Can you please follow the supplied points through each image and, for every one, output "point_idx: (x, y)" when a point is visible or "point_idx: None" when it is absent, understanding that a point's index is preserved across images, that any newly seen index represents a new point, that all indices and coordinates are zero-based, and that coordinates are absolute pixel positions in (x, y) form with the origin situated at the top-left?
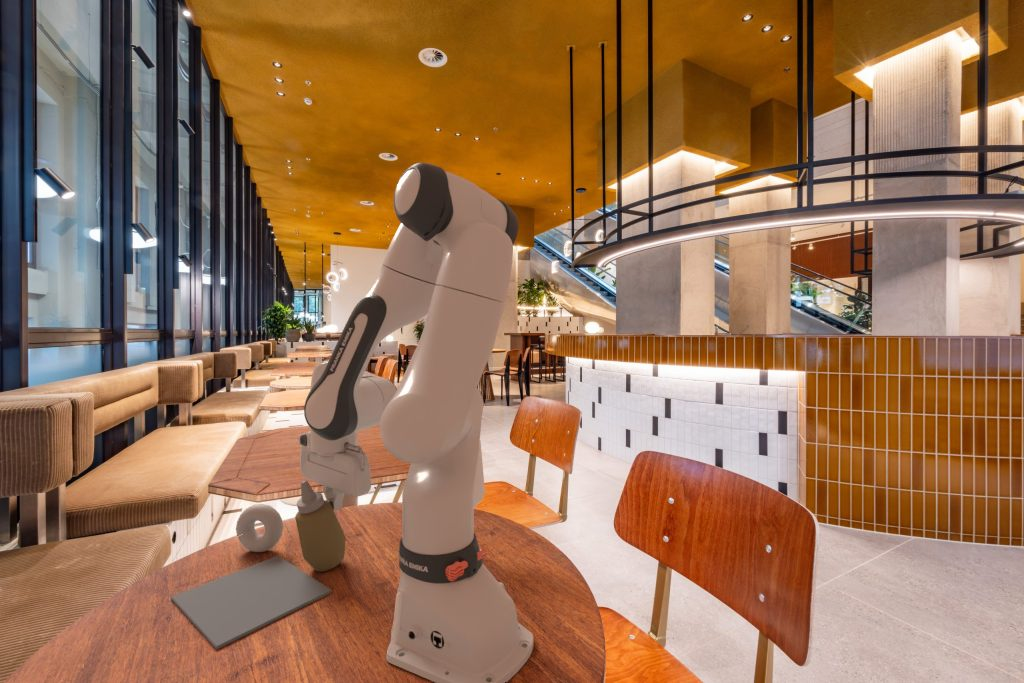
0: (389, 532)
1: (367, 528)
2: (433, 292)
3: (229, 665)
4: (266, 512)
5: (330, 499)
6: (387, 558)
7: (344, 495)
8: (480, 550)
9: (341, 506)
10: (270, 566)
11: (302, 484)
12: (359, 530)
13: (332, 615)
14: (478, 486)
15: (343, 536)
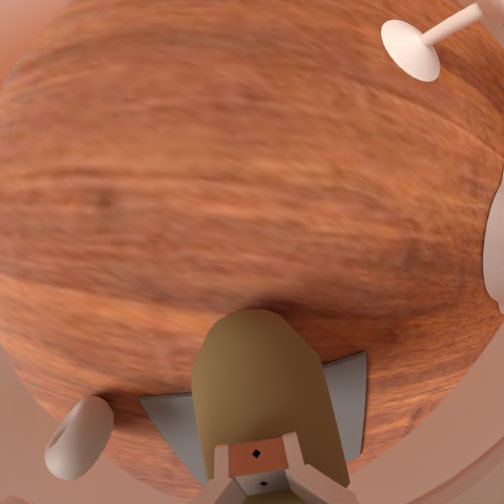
0: (153, 110)
1: (84, 163)
2: None
3: (391, 440)
4: (83, 470)
5: (252, 491)
6: (319, 189)
7: (332, 480)
8: (419, 31)
9: (297, 438)
10: (183, 419)
11: None
12: (82, 189)
13: (416, 356)
14: None
15: (299, 353)
